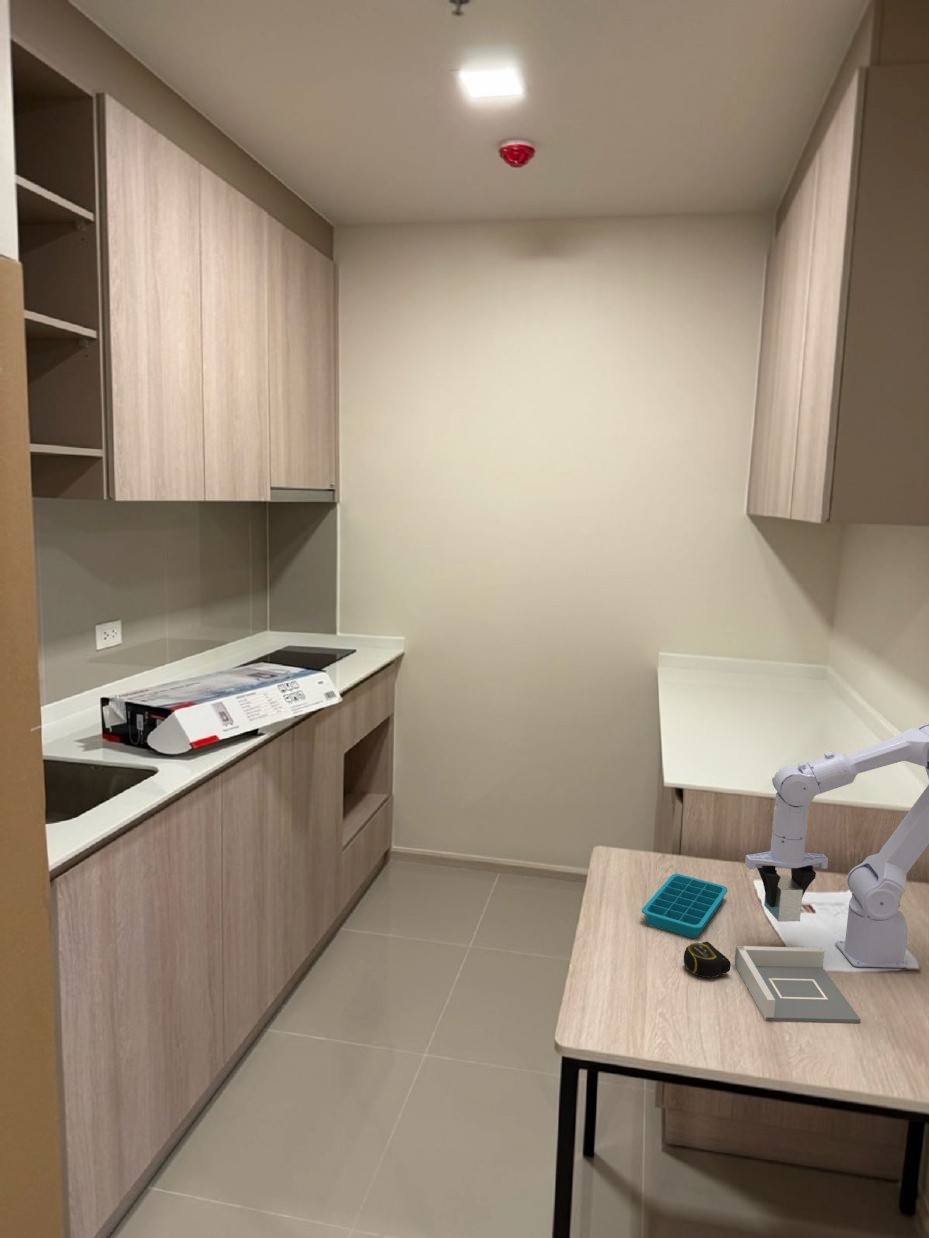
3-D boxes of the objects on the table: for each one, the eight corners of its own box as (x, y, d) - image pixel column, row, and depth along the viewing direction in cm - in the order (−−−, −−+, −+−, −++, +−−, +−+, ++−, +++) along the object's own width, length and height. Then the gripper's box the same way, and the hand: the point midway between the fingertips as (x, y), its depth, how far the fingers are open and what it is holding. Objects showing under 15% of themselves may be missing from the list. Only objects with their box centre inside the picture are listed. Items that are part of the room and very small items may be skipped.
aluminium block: (785, 904, 161) (787, 874, 160) (799, 921, 155) (802, 889, 154) (764, 905, 161) (766, 874, 160) (778, 921, 155) (781, 890, 154)
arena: (819, 966, 154) (821, 947, 153) (860, 1022, 138) (862, 1001, 137) (734, 964, 153) (736, 945, 153) (765, 1020, 138) (767, 999, 137)
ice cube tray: (638, 925, 167) (639, 911, 166) (672, 885, 184) (673, 872, 183) (698, 944, 161) (700, 929, 160) (728, 900, 178) (729, 887, 177)
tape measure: (731, 978, 150) (733, 958, 149) (697, 984, 147) (698, 964, 147) (709, 957, 156) (710, 938, 155) (675, 962, 154) (677, 943, 153)
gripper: (817, 824, 160) (810, 893, 162) (740, 824, 159) (735, 894, 161) (836, 840, 153) (829, 911, 156) (756, 840, 152) (750, 913, 154)
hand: (782, 904), depth 158 cm, fingers closed on aluminium block, 4 cm apart
